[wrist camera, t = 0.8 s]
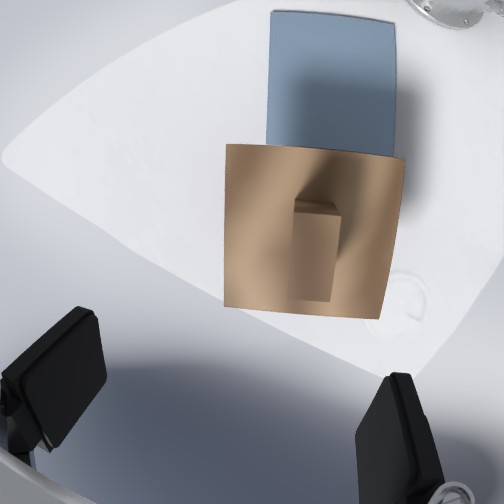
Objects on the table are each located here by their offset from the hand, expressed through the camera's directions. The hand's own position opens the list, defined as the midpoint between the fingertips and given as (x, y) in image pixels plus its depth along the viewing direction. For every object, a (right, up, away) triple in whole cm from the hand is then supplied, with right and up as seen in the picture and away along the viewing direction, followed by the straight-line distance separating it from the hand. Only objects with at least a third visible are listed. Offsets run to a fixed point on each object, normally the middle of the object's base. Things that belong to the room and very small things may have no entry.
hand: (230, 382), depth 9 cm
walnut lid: (+5, +5, +17) cm, 19 cm away
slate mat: (+9, +23, +21) cm, 32 cm away
